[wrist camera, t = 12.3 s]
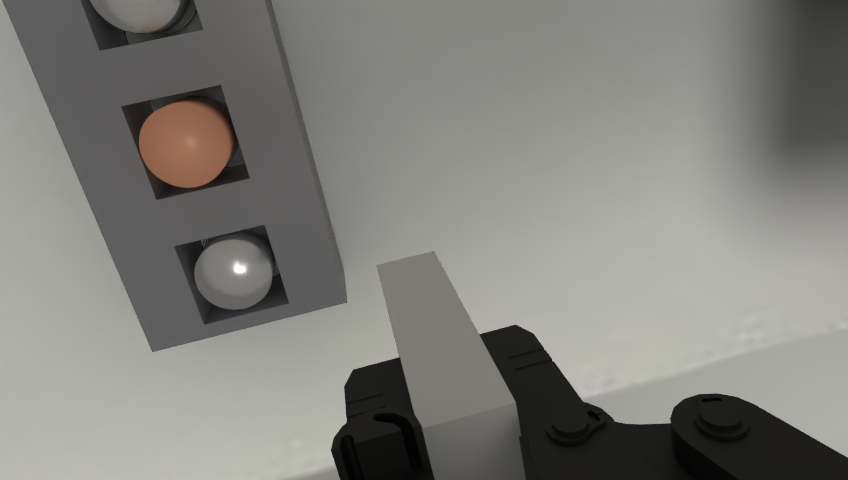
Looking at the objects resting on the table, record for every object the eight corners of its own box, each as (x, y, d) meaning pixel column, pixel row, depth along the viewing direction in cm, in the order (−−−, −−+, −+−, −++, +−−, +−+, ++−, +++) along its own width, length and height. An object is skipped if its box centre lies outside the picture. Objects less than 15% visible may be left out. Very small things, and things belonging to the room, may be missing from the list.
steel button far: (266, 211, 38) (259, 232, 33) (285, 271, 39) (281, 299, 35) (198, 227, 37) (183, 250, 33) (220, 287, 39) (208, 317, 34)
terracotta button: (225, 88, 34) (212, 95, 30) (248, 160, 35) (238, 177, 31) (150, 105, 33) (125, 114, 29) (176, 177, 35) (156, 195, 31)
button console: (244, -96, 32) (232, -118, 28) (344, 271, 40) (347, 302, 36) (24, -55, 31) (-28, -71, 26) (172, 314, 39) (152, 352, 35)
